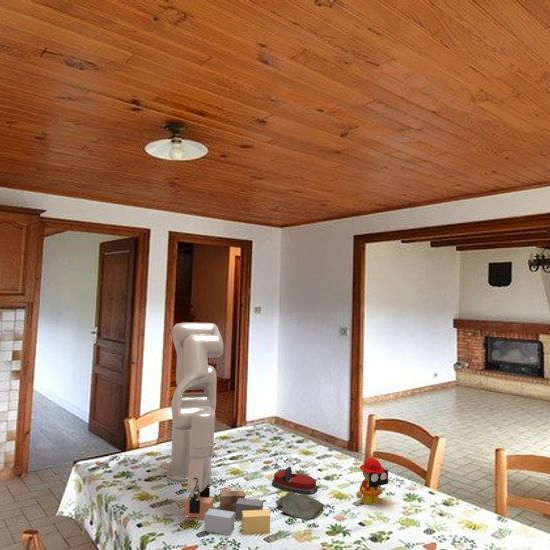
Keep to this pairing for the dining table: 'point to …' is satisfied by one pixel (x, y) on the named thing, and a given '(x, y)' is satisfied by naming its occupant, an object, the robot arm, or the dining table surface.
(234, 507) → the walnut brick
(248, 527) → the ochre brick
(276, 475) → the bumper car
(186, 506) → the terracotta brick
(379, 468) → the toy
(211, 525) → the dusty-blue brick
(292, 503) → the artifact
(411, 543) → the dining table surface
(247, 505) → the charcoal brick
